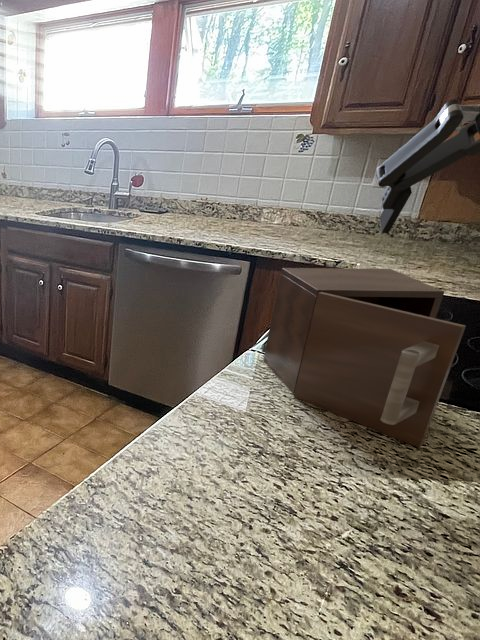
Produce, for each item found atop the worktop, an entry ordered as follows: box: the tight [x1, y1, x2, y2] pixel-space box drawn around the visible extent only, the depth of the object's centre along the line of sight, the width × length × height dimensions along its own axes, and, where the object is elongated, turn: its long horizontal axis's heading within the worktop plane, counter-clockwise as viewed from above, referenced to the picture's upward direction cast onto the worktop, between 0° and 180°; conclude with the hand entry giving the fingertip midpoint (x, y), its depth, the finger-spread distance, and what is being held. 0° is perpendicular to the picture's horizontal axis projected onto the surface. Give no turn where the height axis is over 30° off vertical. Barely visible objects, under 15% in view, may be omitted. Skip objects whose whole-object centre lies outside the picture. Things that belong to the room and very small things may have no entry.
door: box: [293, 292, 467, 448], centre depth 74 cm, size 7×18×18 cm, turn 31°
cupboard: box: [262, 267, 445, 395], centre depth 89 cm, size 14×18×18 cm
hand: (448, 226), depth 64 cm, fingers open, 13 cm apart
